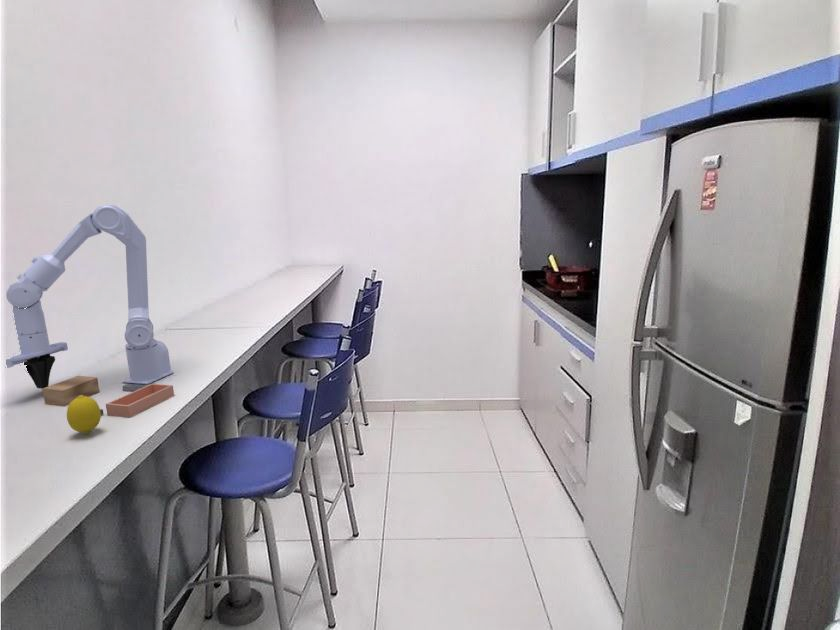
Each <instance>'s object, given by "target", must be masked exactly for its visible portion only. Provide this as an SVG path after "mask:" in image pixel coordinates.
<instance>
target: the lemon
mask: <svg viewBox="0 0 840 630" xmlns="http://www.w3.org/2000/svg"><path fill="white" fill-rule="evenodd" d="M67 406H68V407H67V408H66V409H67V410H66V420H67V422H68V423H67V424H68V425H69V426H70V427H71V429H72V430H74V431H75V432H78V433H83V434H85V435H88V434H90V433H91V432H92V430H94V429H95V428H97V427H98V425H99V423H100V422H101V412H100V409H101V408H100V406H99V404H98V403H97V401H96V400H95V399H94V398H92V397H91V396H89V397H87V396H83V395H80V396H78V398H76V399H74V400H73V401H72V402H71V403H70V404H69V405H67Z"/></svg>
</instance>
